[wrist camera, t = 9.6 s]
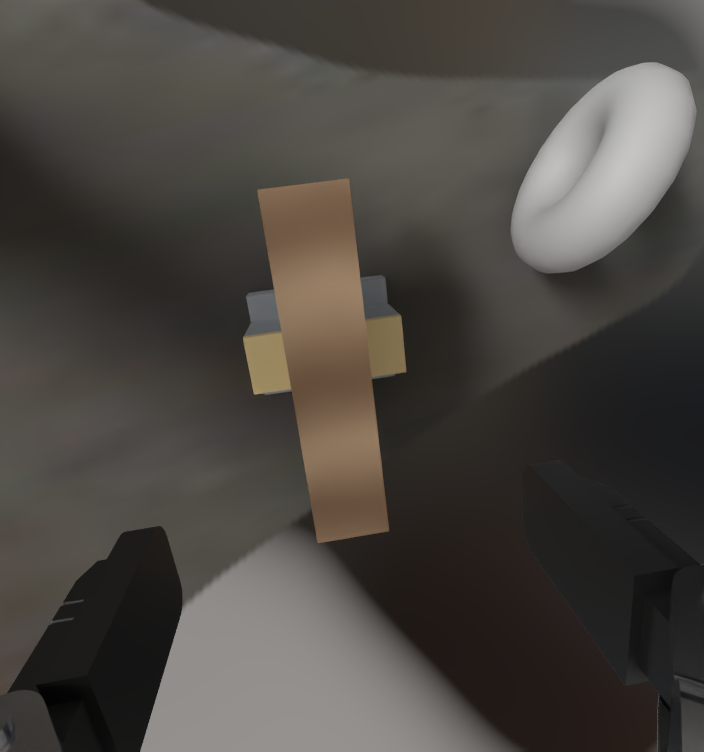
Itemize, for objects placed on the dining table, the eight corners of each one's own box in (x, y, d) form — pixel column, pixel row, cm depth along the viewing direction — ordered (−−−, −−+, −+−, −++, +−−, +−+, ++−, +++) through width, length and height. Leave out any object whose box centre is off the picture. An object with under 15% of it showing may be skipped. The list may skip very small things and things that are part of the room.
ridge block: (248, 292, 28) (236, 308, 23) (381, 274, 29) (398, 286, 24) (266, 387, 30) (259, 421, 25) (390, 368, 31) (408, 398, 25)
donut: (561, 82, 27) (704, 5, 17) (609, 112, 27) (772, 55, 18) (475, 251, 29) (560, 264, 20) (522, 274, 30) (626, 299, 20)
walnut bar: (264, 195, 22) (257, 189, 18) (340, 186, 22) (349, 178, 18) (315, 497, 27) (317, 543, 23) (376, 487, 27) (389, 531, 23)
